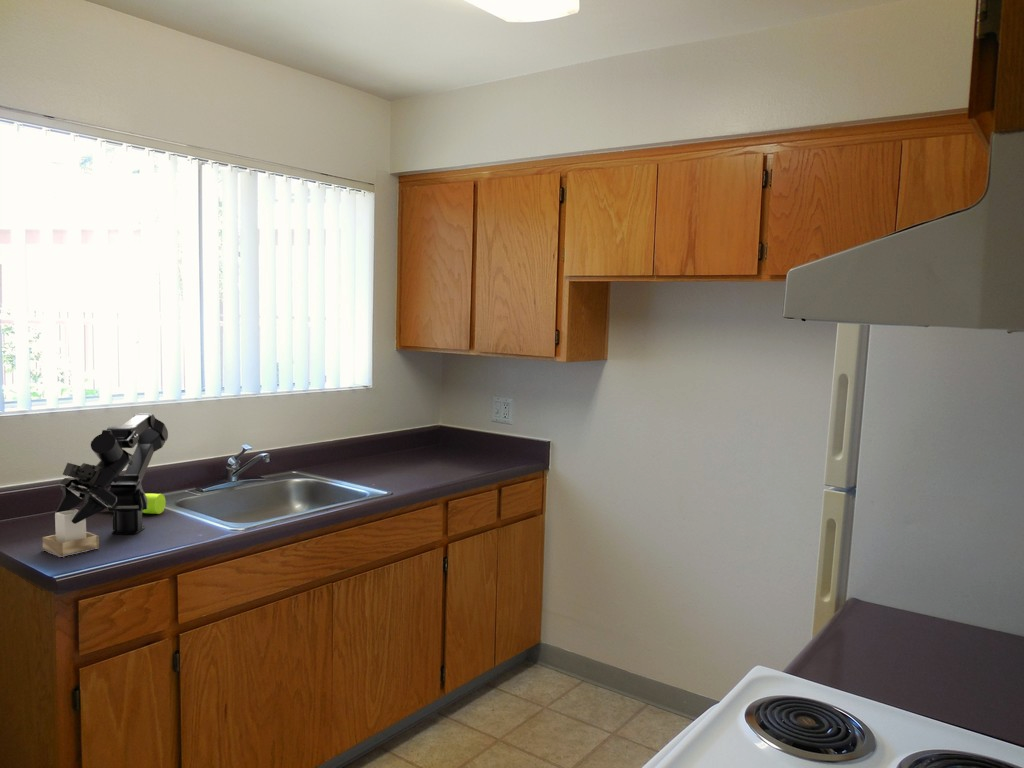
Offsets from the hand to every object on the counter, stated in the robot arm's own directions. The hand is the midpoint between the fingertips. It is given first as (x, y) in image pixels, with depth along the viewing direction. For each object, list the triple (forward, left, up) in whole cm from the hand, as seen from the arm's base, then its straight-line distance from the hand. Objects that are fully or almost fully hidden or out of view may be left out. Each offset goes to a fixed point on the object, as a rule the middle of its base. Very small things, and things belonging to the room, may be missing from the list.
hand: (64, 519), depth 188 cm
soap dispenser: (-10, -38, -5) cm, 40 cm away
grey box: (-1, -1, -7) cm, 8 cm away
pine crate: (-1, -1, -8) cm, 8 cm away
